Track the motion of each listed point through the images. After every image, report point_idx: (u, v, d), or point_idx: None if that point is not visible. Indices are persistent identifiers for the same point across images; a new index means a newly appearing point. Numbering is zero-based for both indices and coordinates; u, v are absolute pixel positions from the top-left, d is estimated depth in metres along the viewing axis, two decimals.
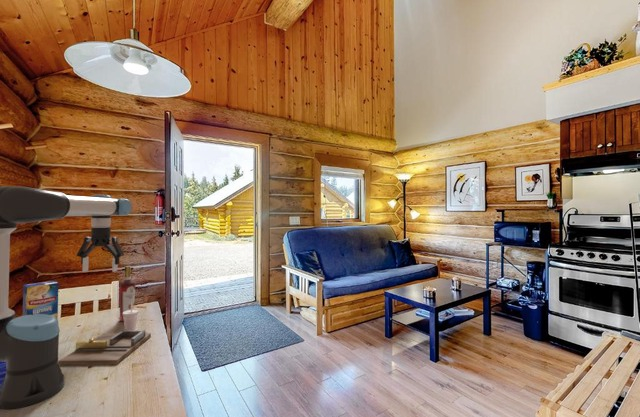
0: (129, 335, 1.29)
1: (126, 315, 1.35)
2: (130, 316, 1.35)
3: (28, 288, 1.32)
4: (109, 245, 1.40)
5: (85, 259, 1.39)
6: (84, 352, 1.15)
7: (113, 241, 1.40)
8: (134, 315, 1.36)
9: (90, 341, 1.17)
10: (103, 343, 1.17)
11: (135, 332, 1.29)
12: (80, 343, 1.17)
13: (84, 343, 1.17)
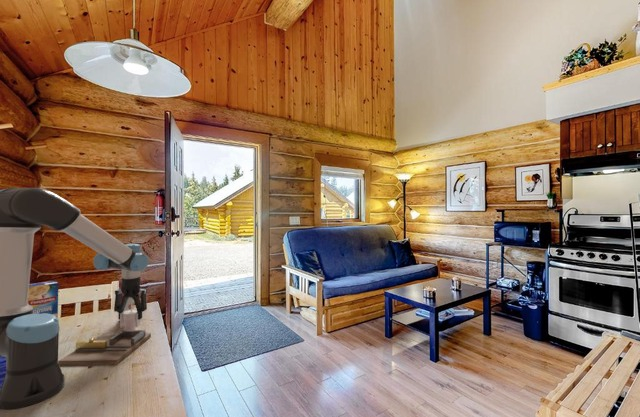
0: (129, 335, 1.29)
1: (126, 315, 1.35)
2: (130, 316, 1.35)
3: None
4: (137, 297, 1.38)
5: None
6: (84, 352, 1.15)
7: (142, 294, 1.37)
8: (134, 315, 1.36)
9: (90, 341, 1.17)
10: (103, 343, 1.17)
11: (135, 332, 1.29)
12: (80, 343, 1.17)
13: (84, 343, 1.17)
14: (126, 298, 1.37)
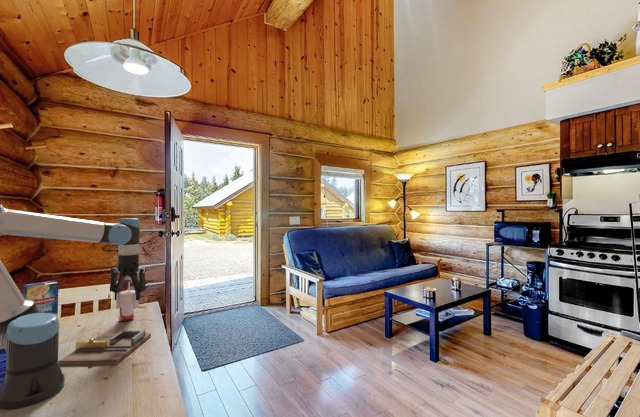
0: (129, 335, 1.29)
1: (123, 295, 1.23)
2: (127, 296, 1.23)
3: (28, 288, 1.32)
4: (135, 276, 1.26)
5: None
6: (84, 352, 1.15)
7: (141, 273, 1.25)
8: (132, 295, 1.25)
9: (90, 341, 1.17)
10: (103, 343, 1.17)
11: (135, 332, 1.29)
12: (80, 343, 1.17)
13: (84, 343, 1.17)
14: (123, 277, 1.25)
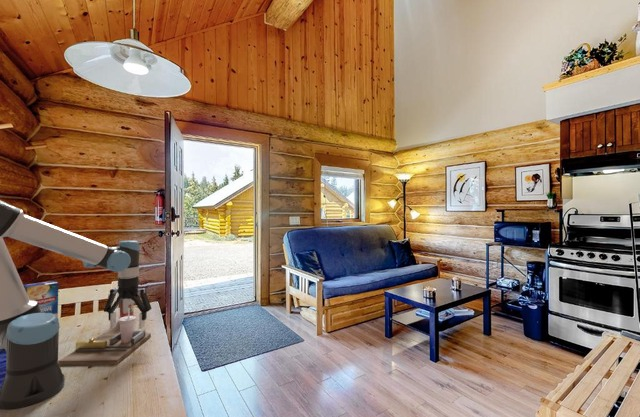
0: None
1: (123, 322, 1.22)
2: (127, 323, 1.23)
3: (28, 288, 1.32)
4: (137, 298, 1.26)
5: (113, 315, 1.25)
6: (84, 352, 1.15)
7: (142, 294, 1.25)
8: (131, 322, 1.24)
9: (90, 341, 1.17)
10: (103, 343, 1.17)
11: (135, 332, 1.29)
12: (80, 343, 1.17)
13: (84, 343, 1.17)
14: (121, 299, 1.25)
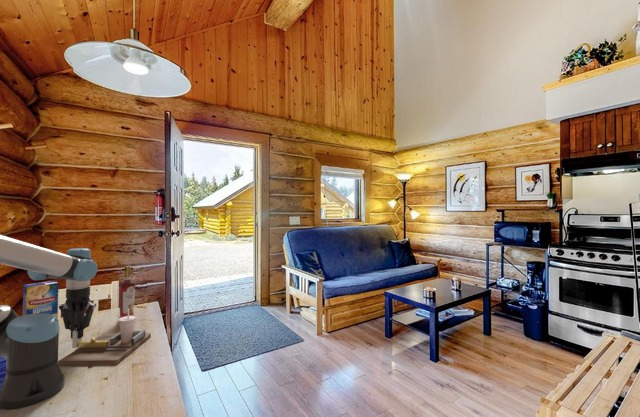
0: None
1: (122, 322, 1.22)
2: (127, 323, 1.23)
3: (28, 288, 1.32)
4: (82, 312, 1.17)
5: None
6: (84, 352, 1.15)
7: (89, 310, 1.16)
8: (131, 322, 1.24)
9: (92, 341, 1.17)
10: (105, 343, 1.17)
11: (135, 332, 1.29)
12: (82, 343, 1.17)
13: (86, 343, 1.17)
14: (75, 312, 1.17)
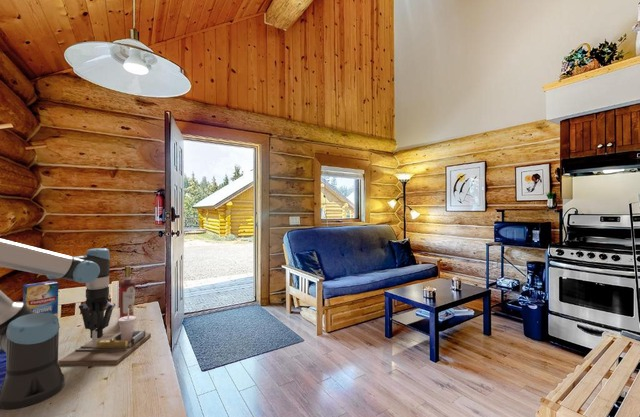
0: None
1: (122, 322, 1.22)
2: (127, 323, 1.23)
3: (28, 288, 1.32)
4: (101, 312, 1.18)
5: None
6: (84, 352, 1.15)
7: (108, 309, 1.17)
8: (131, 322, 1.24)
9: (111, 341, 1.17)
10: (124, 343, 1.17)
11: (135, 332, 1.29)
12: (101, 343, 1.17)
13: (105, 343, 1.17)
14: (94, 312, 1.17)
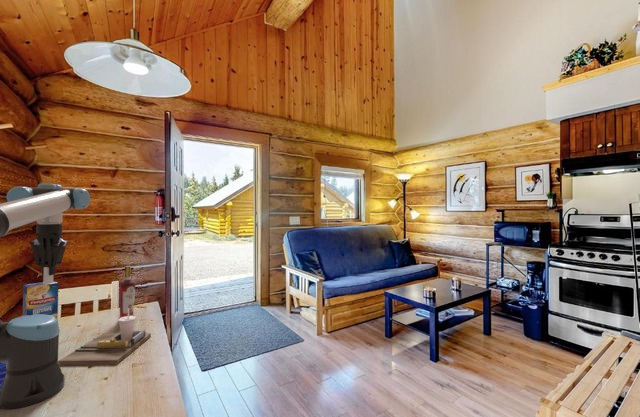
0: None
1: (122, 322, 1.22)
2: (127, 323, 1.23)
3: (28, 288, 1.32)
4: (53, 249, 1.15)
5: None
6: (84, 352, 1.15)
7: (60, 246, 1.14)
8: (131, 322, 1.24)
9: (111, 341, 1.17)
10: (124, 343, 1.17)
11: (135, 332, 1.29)
12: (101, 343, 1.17)
13: (105, 343, 1.17)
14: (46, 248, 1.15)
